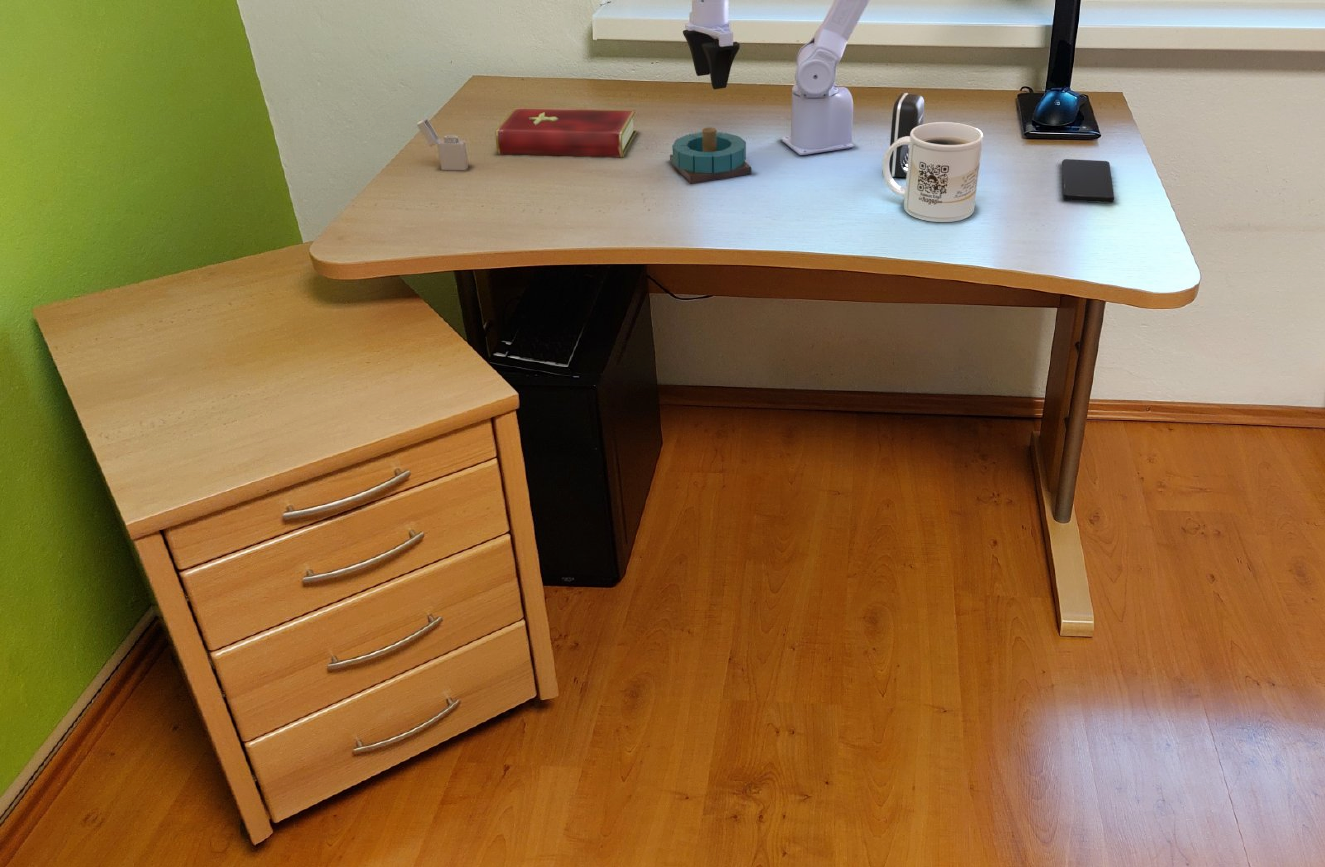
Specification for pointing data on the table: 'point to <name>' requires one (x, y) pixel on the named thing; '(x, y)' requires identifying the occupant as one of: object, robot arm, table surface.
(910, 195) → the mug
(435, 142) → the lighter
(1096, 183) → the smartphone
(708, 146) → the stand
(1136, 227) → the table surface
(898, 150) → the battery charger
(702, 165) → the ring
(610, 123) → the hardcover book
